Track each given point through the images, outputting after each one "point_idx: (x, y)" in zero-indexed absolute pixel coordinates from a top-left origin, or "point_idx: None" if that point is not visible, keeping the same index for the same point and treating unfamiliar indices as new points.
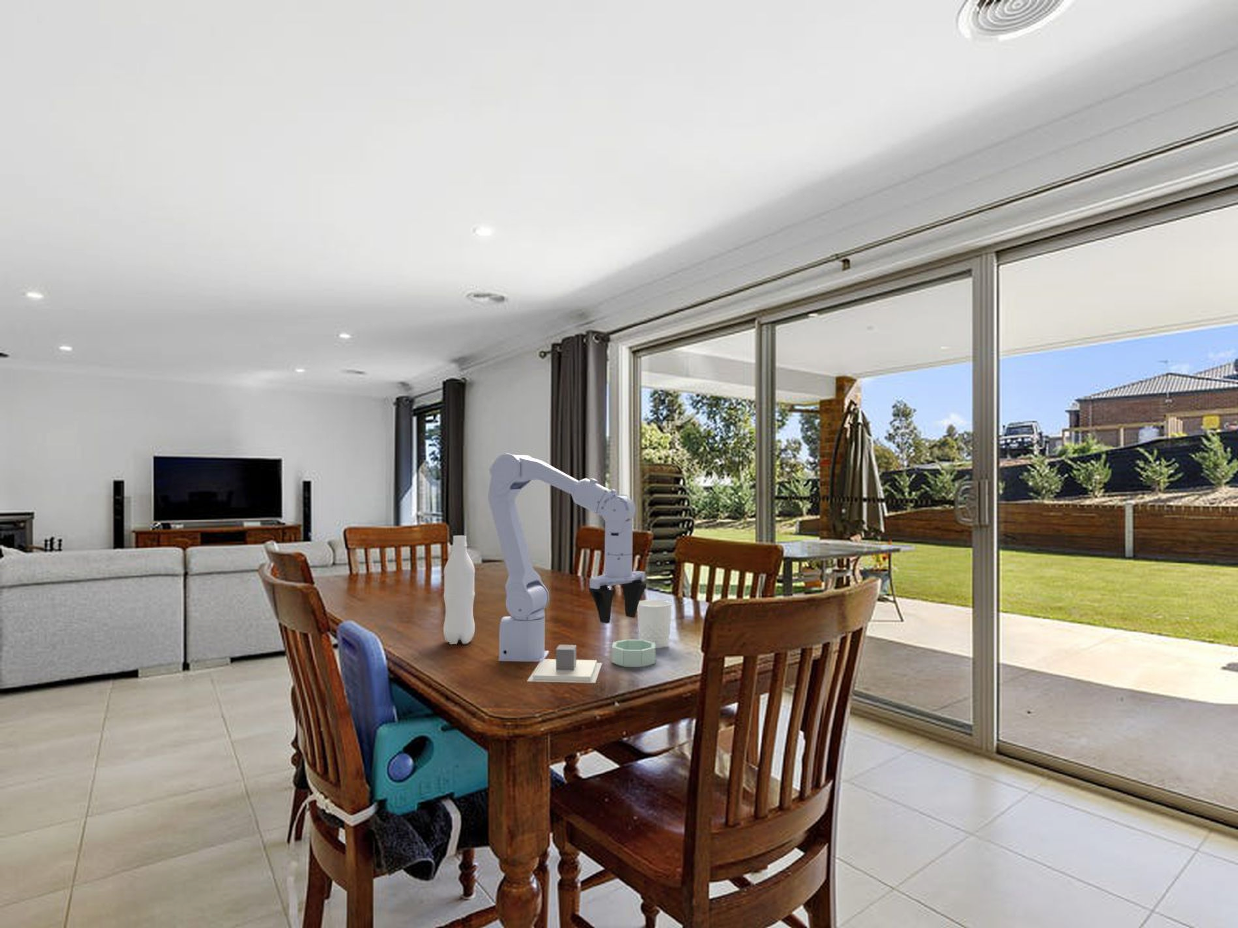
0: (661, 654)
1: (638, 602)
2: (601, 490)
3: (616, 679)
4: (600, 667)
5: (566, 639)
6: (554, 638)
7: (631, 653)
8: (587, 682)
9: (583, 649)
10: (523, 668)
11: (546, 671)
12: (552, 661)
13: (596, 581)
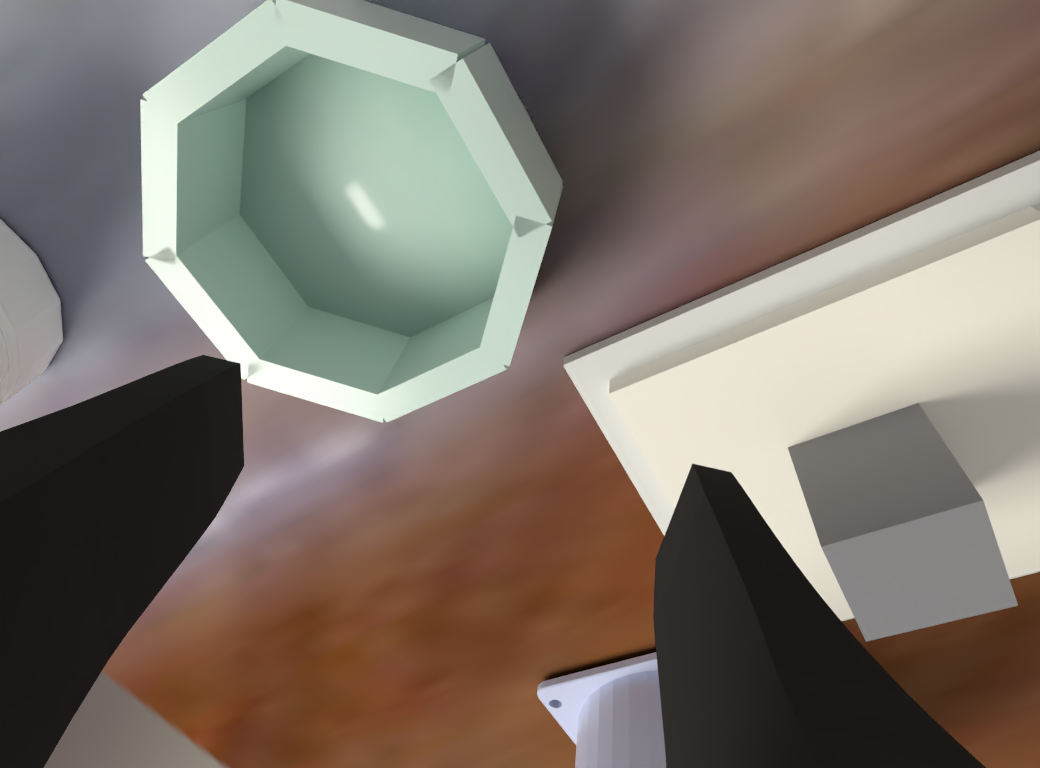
0: (58, 131)
1: (15, 432)
2: None
3: (835, 79)
4: (668, 319)
5: (274, 714)
6: (303, 755)
7: (517, 149)
8: None
9: (355, 587)
10: None
11: (1009, 525)
12: None
13: None
